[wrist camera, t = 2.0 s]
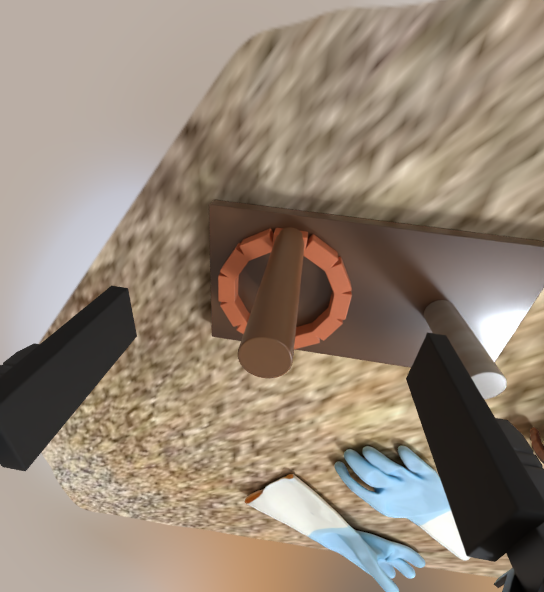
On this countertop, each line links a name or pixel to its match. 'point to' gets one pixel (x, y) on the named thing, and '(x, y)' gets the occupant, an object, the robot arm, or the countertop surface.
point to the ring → (280, 298)
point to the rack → (394, 285)
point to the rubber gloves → (386, 499)
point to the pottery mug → (537, 444)
